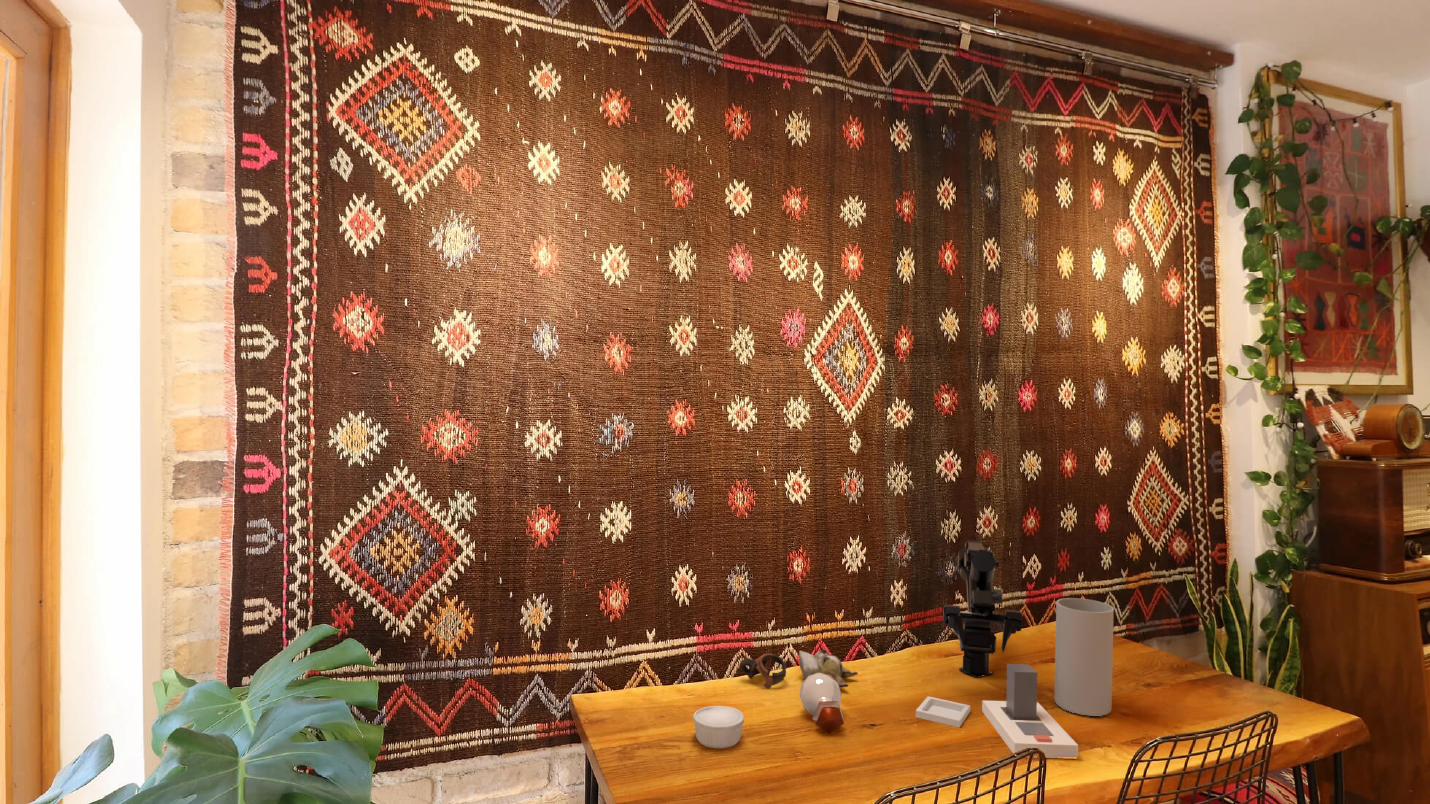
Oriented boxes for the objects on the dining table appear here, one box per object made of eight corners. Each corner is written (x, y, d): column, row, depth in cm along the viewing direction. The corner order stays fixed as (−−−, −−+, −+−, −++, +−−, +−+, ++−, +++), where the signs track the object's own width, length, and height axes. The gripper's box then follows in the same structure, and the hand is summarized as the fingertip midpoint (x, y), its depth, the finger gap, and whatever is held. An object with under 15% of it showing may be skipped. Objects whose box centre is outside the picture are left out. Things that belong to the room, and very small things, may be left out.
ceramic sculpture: (806, 638, 205) (860, 650, 199) (803, 669, 206) (857, 683, 199) (793, 650, 196) (849, 664, 189) (790, 683, 196) (846, 697, 190)
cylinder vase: (1118, 720, 177) (1120, 614, 176) (1061, 715, 179) (1063, 610, 179) (1102, 699, 189) (1104, 600, 189) (1049, 694, 191) (1051, 596, 191)
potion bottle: (820, 710, 183) (834, 747, 168) (788, 688, 182) (799, 723, 167) (844, 680, 183) (860, 714, 167) (812, 657, 181) (826, 690, 166)
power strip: (982, 712, 180) (982, 697, 180) (1037, 714, 179) (1037, 699, 179) (1014, 757, 158) (1015, 740, 158) (1078, 759, 157) (1078, 742, 157)
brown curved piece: (778, 675, 203) (788, 653, 199) (779, 703, 195) (789, 681, 191) (736, 664, 202) (745, 642, 199) (735, 692, 194) (744, 670, 190)
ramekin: (714, 723, 172) (715, 700, 172) (754, 738, 165) (754, 714, 165) (682, 740, 163) (682, 716, 163) (722, 756, 156) (722, 731, 156)
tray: (927, 704, 184) (927, 696, 184) (969, 713, 179) (970, 705, 179) (915, 718, 176) (915, 710, 176) (959, 729, 170) (959, 720, 170)
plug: (1006, 719, 175) (1007, 663, 175) (1028, 720, 175) (1029, 664, 175) (1013, 729, 170) (1014, 671, 170) (1036, 729, 170) (1037, 672, 170)
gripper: (944, 573, 192) (944, 629, 181) (1023, 579, 186) (1027, 637, 176) (943, 595, 199) (943, 651, 189) (1018, 602, 194) (1022, 659, 184)
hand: (983, 649), depth 184 cm, fingers open, 9 cm apart
